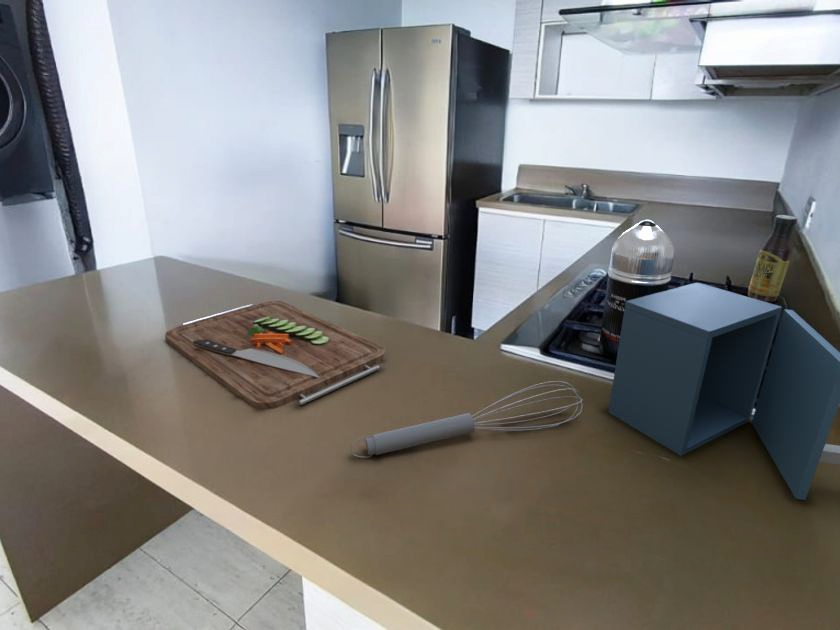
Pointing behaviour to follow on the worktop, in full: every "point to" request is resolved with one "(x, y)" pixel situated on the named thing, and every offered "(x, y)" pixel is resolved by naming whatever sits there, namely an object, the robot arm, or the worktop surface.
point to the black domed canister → (634, 276)
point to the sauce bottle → (773, 261)
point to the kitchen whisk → (448, 427)
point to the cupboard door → (799, 403)
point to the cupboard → (691, 363)
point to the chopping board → (275, 352)
